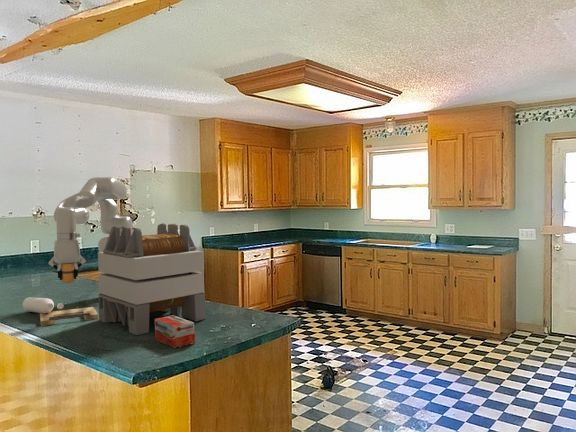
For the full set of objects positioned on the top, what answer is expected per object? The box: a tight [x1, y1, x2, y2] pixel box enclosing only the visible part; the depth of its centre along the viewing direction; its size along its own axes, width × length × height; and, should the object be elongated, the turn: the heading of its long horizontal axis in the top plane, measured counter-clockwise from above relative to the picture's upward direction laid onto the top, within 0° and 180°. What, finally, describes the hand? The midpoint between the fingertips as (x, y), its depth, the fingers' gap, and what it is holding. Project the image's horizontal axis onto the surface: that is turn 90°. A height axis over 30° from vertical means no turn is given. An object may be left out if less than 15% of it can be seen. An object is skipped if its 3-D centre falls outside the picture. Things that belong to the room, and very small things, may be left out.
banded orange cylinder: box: [61, 263, 75, 284], centre depth 204 cm, size 5×5×8 cm
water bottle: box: [21, 296, 65, 314], centre depth 214 cm, size 9×6×25 cm
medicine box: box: [154, 314, 196, 349], centre depth 172 cm, size 15×8×8 cm, turn 44°
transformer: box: [97, 222, 207, 336], centre depth 203 cm, size 34×33×41 cm
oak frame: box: [39, 306, 99, 327], centre depth 208 cm, size 22×16×3 cm
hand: (67, 278), depth 204 cm, fingers closed on banded orange cylinder, 5 cm apart
